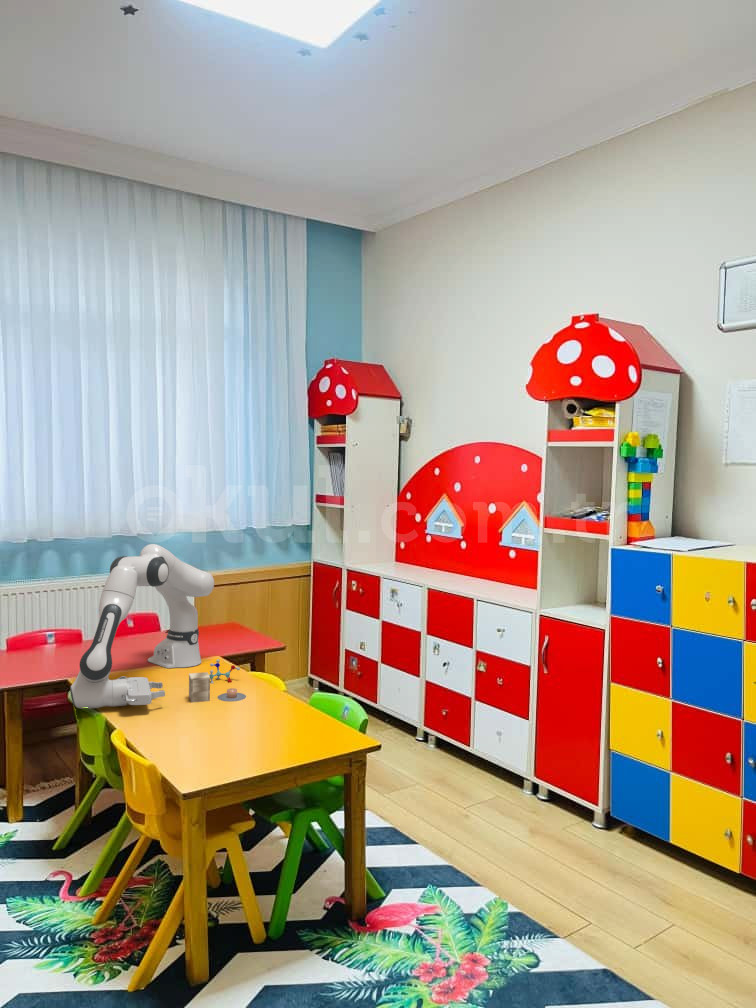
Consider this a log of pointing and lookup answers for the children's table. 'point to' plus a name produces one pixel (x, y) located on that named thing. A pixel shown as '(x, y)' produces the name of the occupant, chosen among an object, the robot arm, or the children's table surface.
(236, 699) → the coaster
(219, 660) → the molecular model
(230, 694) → the pinkish-brown rounded lump
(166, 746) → the children's table surface
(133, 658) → the children's table surface
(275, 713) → the children's table surface
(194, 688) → the beige upright block
